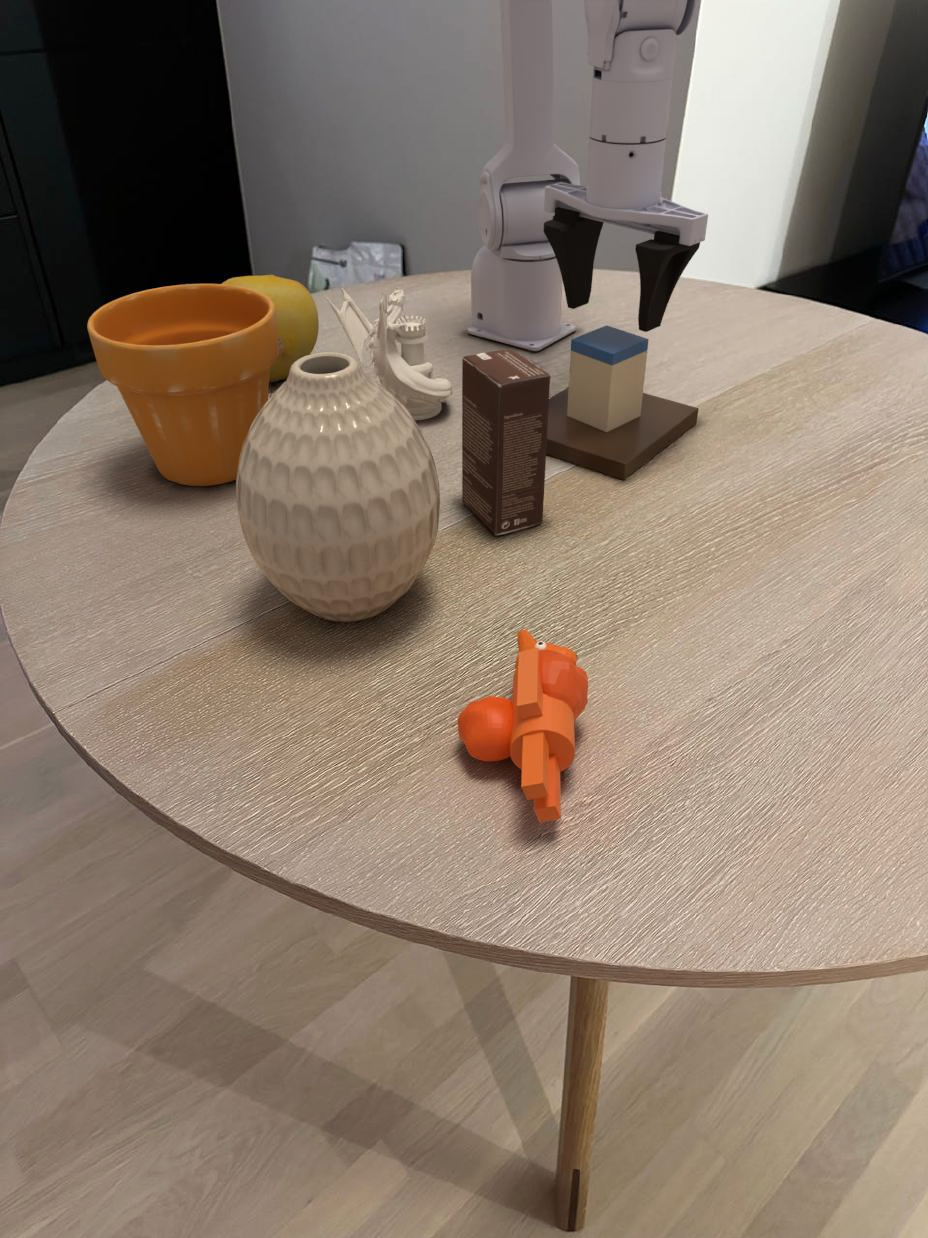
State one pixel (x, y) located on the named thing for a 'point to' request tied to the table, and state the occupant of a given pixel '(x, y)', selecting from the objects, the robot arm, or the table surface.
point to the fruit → (286, 318)
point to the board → (616, 435)
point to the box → (504, 439)
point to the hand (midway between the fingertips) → (612, 316)
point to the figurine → (396, 353)
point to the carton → (606, 377)
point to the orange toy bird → (532, 721)
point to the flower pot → (190, 372)
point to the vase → (337, 491)
